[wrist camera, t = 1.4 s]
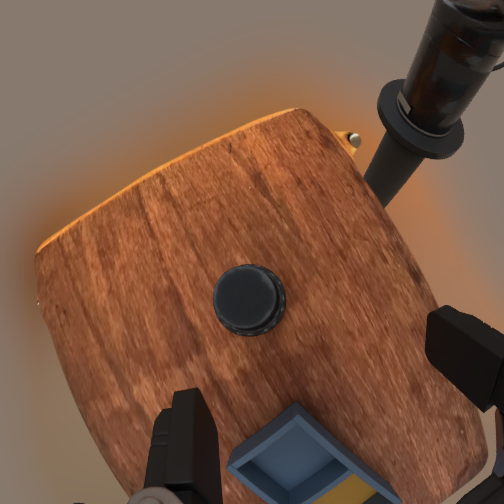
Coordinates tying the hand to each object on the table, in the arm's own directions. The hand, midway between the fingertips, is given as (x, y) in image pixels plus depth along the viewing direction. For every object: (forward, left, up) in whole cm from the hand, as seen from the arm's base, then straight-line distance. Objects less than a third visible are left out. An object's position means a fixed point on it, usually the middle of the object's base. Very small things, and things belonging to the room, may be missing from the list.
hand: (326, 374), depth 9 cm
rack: (+9, +15, -23) cm, 29 cm away
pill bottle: (0, -5, -23) cm, 24 cm away
